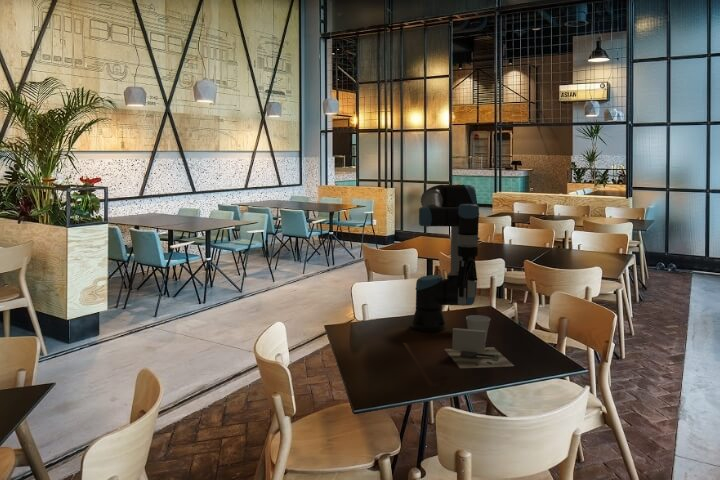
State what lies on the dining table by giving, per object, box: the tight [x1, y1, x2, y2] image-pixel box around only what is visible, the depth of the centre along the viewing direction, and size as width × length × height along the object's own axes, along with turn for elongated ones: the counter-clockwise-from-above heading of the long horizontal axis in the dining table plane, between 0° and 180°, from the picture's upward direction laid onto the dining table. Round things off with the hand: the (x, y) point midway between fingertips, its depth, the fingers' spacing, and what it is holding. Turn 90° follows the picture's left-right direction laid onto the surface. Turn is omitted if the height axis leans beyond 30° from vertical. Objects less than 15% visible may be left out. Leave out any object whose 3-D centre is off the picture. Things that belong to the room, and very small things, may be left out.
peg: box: [451, 327, 494, 358], centre depth 222 cm, size 15×6×10 cm, turn 74°
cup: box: [465, 314, 492, 343], centre depth 241 cm, size 10×10×11 cm
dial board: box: [444, 346, 515, 369], centre depth 222 cm, size 22×20×1 cm
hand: (466, 301), depth 224 cm, fingers open, 13 cm apart
